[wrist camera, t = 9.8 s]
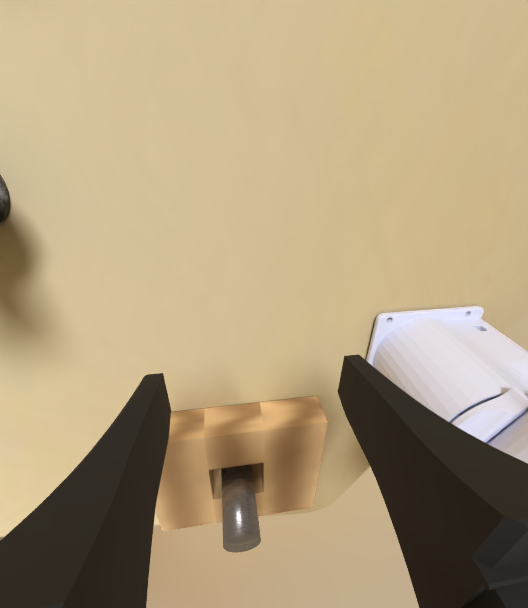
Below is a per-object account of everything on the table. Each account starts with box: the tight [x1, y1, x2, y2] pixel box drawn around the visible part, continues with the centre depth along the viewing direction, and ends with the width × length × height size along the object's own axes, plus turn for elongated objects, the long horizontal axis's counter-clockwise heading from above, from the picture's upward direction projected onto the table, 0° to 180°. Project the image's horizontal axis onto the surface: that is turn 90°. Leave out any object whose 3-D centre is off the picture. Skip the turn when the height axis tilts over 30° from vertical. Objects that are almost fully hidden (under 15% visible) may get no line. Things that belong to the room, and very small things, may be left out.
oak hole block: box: [155, 396, 328, 531], centre depth 30 cm, size 16×14×3 cm
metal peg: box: [221, 464, 261, 552], centre depth 27 cm, size 3×3×8 cm
